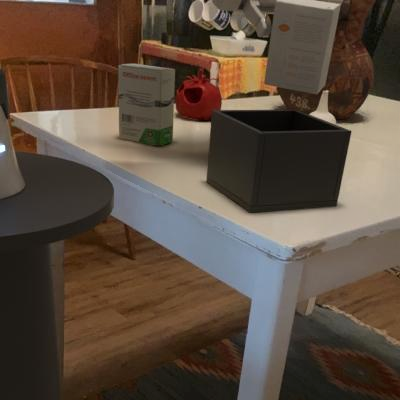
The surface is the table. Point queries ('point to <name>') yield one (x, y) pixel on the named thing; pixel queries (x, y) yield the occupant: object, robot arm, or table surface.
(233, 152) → the trash bin
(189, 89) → the pomegranate
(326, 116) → the garlic bulb
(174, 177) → the table surface
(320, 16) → the small box
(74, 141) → the table surface
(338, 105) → the brown curved lobed piece
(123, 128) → the ink box
